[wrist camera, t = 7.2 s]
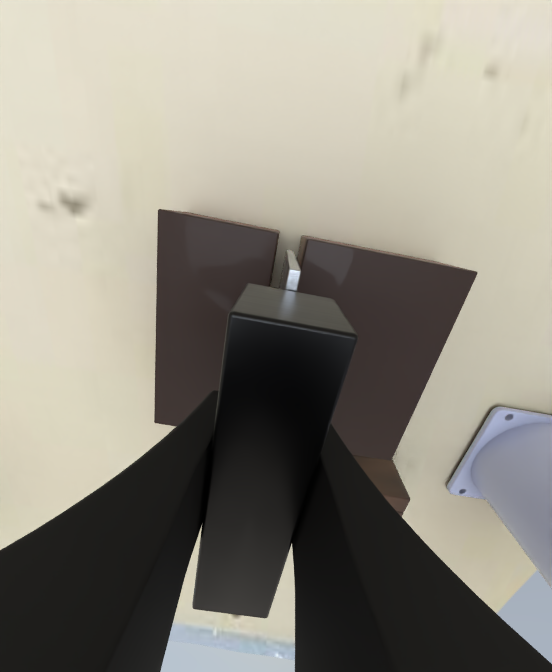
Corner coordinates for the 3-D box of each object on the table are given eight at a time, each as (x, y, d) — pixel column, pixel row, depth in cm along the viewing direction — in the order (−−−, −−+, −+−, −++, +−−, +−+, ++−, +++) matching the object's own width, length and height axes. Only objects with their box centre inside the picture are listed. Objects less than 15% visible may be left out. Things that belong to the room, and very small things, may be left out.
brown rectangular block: (279, 230, 15) (278, 232, 11) (249, 400, 19) (242, 437, 15) (185, 212, 14) (157, 208, 11) (176, 388, 18) (153, 423, 15)
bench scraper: (273, 440, 15) (265, 628, 8) (233, 433, 15) (190, 619, 8) (316, 254, 11) (370, 306, 4) (263, 244, 11) (231, 280, 4)
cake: (436, 261, 15) (478, 272, 12) (373, 421, 19) (391, 461, 16) (301, 235, 15) (307, 238, 11) (267, 403, 19) (263, 440, 16)
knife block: (390, 455, 20) (411, 499, 17) (375, 488, 22) (392, 535, 18) (229, 429, 20) (219, 470, 16) (224, 465, 21) (213, 509, 18)
